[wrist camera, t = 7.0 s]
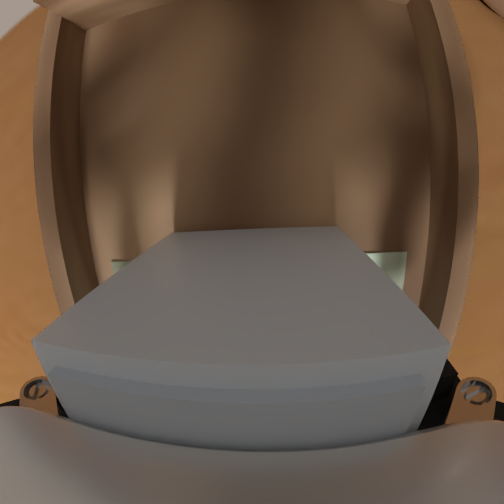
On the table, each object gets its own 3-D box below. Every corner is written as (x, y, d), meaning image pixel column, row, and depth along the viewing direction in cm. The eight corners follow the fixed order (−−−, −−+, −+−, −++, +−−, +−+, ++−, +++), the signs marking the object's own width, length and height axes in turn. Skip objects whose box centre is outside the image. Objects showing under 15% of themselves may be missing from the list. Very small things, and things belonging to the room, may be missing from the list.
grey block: (336, 226, 10) (459, 354, 3) (325, 395, 12) (347, 542, 5) (171, 232, 11) (21, 348, 3) (199, 395, 13) (157, 535, 5)
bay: (411, 2, 8) (459, -46, 3) (404, 385, 13) (435, 449, 9) (82, 28, 9) (21, -5, 4) (126, 388, 15) (91, 448, 10)
